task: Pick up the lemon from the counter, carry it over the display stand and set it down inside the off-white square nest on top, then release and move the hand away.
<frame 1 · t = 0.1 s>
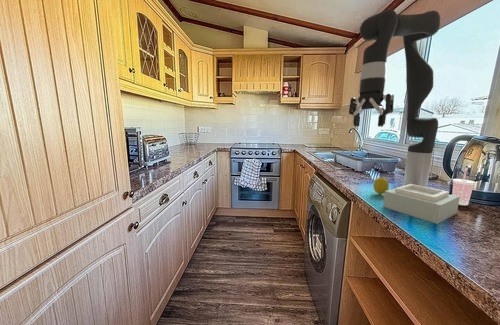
hand: (367, 126, 76), 29 cm above the countertop, tool pointing down, fingers open, 8 cm apart
lemon: (379, 195, 92), on the countertop
display stand: (418, 209, 76), on the countertop
beverage cup: (459, 203, 83), on the countertop
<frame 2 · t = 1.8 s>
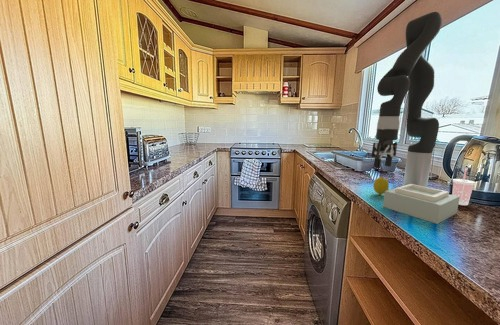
hand: (382, 167, 90), 12 cm above the countertop, tool pointing down, fingers open, 8 cm apart
nothing on the countertop moved.
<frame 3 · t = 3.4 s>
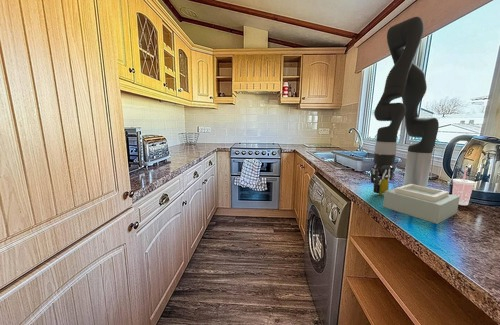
hand: (380, 191, 91), 2 cm above the countertop, tool pointing down, fingers closed on lemon, 5 cm apart
lemon: (379, 195, 92), on the countertop, touching gripper
everything else where it was.
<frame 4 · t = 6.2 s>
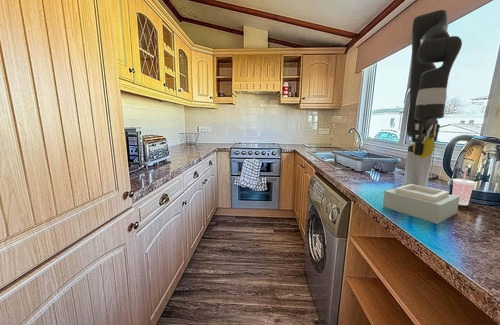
hand: (422, 154, 73), 20 cm above the countertop, tool pointing down, fingers closed on lemon, 5 cm apart
lemon: (421, 159, 74), point 18 cm above the countertop, touching gripper
everything else where it was.
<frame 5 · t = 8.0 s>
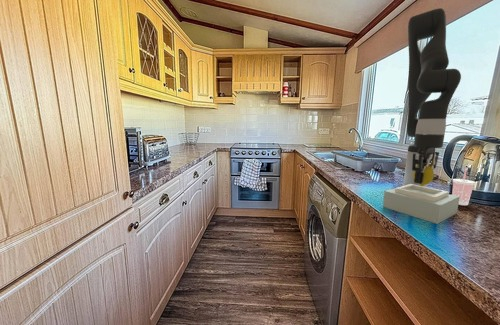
hand: (422, 181, 74), 10 cm above the countertop, tool pointing down, fingers closed on lemon, 5 cm apart
lemon: (421, 186, 74), point 9 cm above the countertop, touching gripper
everything else where it was.
when the fingers open (9 cm above the countertop, at t = 9.2 s): lemon drops 1 cm, resting on display stand.
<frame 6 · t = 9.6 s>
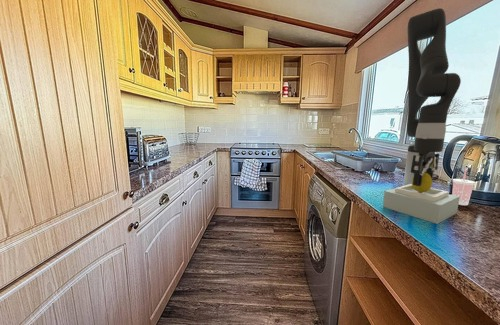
hand: (422, 183, 74), 10 cm above the countertop, tool pointing down, fingers open, 8 cm apart
lemon: (420, 194, 75), point 6 cm above the countertop, touching display stand
everything else where it was.
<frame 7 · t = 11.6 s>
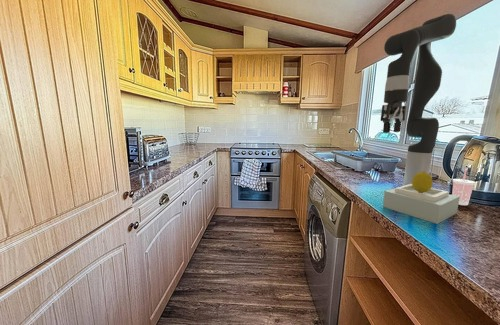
hand: (391, 132, 85), 27 cm above the countertop, tool pointing down, fingers open, 8 cm apart
nothing on the countertop moved.
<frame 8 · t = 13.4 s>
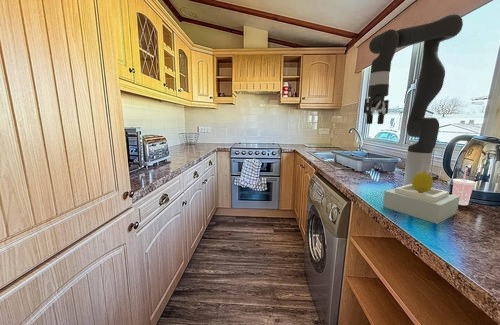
hand: (374, 124, 92), 30 cm above the countertop, tool pointing down, fingers open, 8 cm apart
nothing on the countertop moved.
at the end: lemon 0.1 cm off-centre on the display stand, point 5.8 cm above the display stand's base; the gripper is holding nothing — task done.
